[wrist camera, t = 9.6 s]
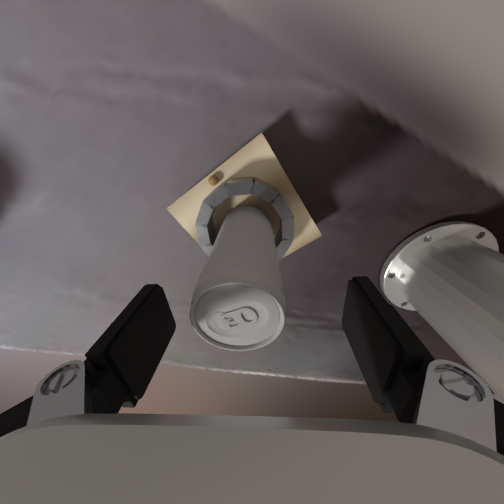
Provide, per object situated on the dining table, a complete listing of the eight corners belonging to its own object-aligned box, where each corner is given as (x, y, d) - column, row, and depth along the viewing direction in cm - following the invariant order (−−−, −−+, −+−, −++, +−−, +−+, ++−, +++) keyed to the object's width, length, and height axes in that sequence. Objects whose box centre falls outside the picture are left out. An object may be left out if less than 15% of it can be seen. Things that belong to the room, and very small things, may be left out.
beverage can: (215, 214, 20) (165, 299, 9) (261, 195, 19) (266, 265, 8) (236, 254, 22) (216, 361, 11) (278, 239, 21) (300, 340, 10)
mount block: (314, 224, 23) (323, 238, 20) (237, 270, 26) (235, 287, 23) (260, 133, 19) (261, 132, 16) (177, 200, 22) (163, 210, 19)
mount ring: (305, 232, 20) (311, 243, 18) (237, 272, 23) (235, 286, 21) (257, 156, 17) (257, 158, 15) (184, 211, 20) (175, 220, 17)
